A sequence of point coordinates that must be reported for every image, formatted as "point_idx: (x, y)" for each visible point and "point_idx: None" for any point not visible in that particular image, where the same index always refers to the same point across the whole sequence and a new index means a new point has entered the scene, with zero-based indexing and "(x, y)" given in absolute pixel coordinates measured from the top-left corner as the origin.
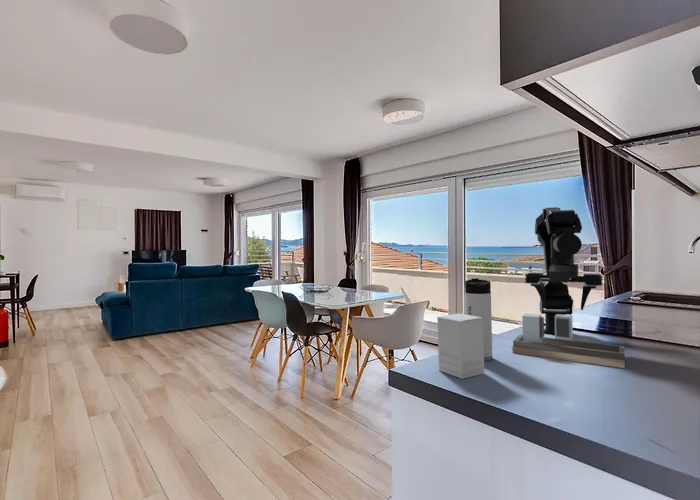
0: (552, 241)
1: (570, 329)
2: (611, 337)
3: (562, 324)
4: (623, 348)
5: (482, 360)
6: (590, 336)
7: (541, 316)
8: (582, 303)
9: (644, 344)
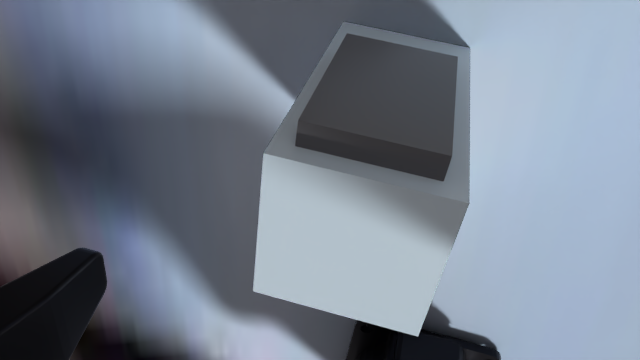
0: None
1: (310, 81)
2: (132, 305)
3: (382, 104)
4: None
5: None
6: (226, 311)
7: None
8: (4, 311)
9: None
